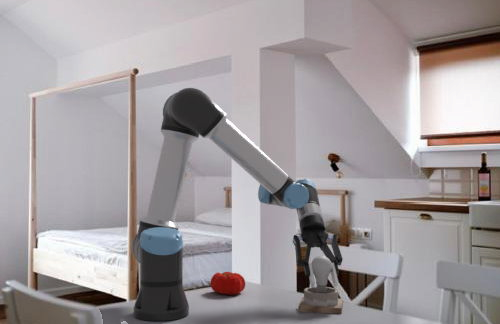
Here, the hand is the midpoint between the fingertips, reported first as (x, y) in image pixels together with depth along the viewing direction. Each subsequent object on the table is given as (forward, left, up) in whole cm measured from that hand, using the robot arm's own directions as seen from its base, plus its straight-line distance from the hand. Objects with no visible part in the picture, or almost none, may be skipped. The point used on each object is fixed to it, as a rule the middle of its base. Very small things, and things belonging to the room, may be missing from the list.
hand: (324, 284), depth 173 cm
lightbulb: (-1, +3, -4) cm, 5 cm away
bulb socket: (-1, +3, -7) cm, 8 cm away
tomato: (-32, +17, -8) cm, 37 cm away
